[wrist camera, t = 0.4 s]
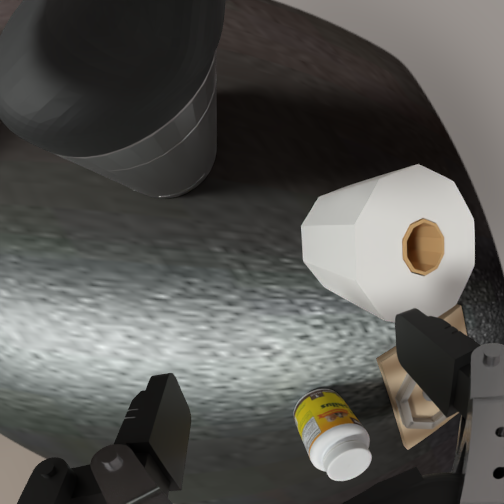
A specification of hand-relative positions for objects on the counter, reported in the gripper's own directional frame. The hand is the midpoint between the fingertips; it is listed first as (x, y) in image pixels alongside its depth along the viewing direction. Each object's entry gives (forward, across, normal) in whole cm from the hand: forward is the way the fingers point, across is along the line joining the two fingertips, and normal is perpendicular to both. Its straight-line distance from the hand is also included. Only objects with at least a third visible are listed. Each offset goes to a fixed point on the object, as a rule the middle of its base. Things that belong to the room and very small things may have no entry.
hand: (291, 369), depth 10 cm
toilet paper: (+20, -9, +1) cm, 22 cm away
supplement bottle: (+17, -2, +18) cm, 25 cm away
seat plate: (+18, -17, +21) cm, 32 cm away
